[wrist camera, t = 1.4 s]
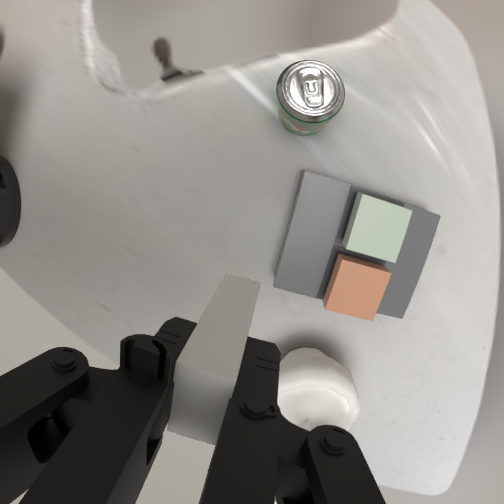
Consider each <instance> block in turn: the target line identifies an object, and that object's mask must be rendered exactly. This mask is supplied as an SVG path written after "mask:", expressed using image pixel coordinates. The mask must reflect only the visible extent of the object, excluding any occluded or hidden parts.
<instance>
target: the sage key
mask: <svg viewBox="0 0 504 504" xmlns="http://www.w3.org/2000/svg"><path fill="white" fill-rule="evenodd" d="M411 214H412V211H411V210H409V209H407V208H404V207H401V206H398V205H395V204H392V203H390V202H387V201H384V200H381V199H378V198H375V197H372V196H369V195H365V194H362V193H359V192H357V195H356V199H355V202H354V206H353V209H352V213H351V216H350V219H349V223H348V226H347V229H346V232H345V236H344V239H343V242H342V244H343V245H344V247H345V248H346V249H348V250H351V251H355V252H358V253H362V254H365V255H369V256H372V257H376V258H379V259H383V260H386V261H390V262H393V263H396V260H397V257H398V254H399V251H400V248H401V246H402V243H403V240H404V237H405V234H406V230H407V227H408V224H409V221H410V218H411Z"/></svg>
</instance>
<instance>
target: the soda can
mask: <svg viewBox="0 0 504 504" xmlns="http://www.w3.org/2000/svg"><path fill="white" fill-rule="evenodd" d="M276 90H277V100H278V109H279V117H280V120H281V122H282V124H283V125H284V127H285V128H286V129H287V130H288V131H290V132H292V133H294V134H296V135H301V136H308V135H312V134H315V133H316V132H318V131H319V130H321V129H322V128H323V127H324V126H325V125H326V124H327V123H328V122H329V121H330V120H331V119H332V118H333V117H334V116H335V115H336V114H337V113H338V112H339V111H340V109H341V108H342V105H343V103H344V99H345V88H344V85H343V82H342V80H341V78H340V76H339V75H338V74H337V73H336V71H335V70H333V69H332V68H331V67H330V66H328V65H326V64H324V63H322V62H319V61H314V60H303V61H298V62H295V63H293V64H291V65H290V66H288V67H287V68H286V69H285V70H284V71H283V72H282V74H281V75H280V77H279V79H278V82H277V89H276Z"/></svg>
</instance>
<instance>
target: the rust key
mask: <svg viewBox="0 0 504 504" xmlns="http://www.w3.org/2000/svg"><path fill="white" fill-rule="evenodd" d="M391 274H392V273H391V272H390V271H389V270H388V269H387V268H386V266H382V265H379V264H375V263H371V262H368V261H364V260H361V259H357V258H354V257H350V256H347V255H343V254H338V258H337V261H336V264H335V267H334V270H333V273H332V276H331V279H330V281H329V284H328V287H327V290H326V293H325V296H324V299H323V303H324V307H325V310H329V311H334V312H338V313H342V314H346V315H350V316H355V317H359V318H363V319H368V320H372V321H373V319H374V316H375V314H376V312H377V309H378V307H379V304H380V302H381V299H382V297H383V294H384V292H385V289H386V287H387V284H388V282H389V279H390V276H391Z"/></svg>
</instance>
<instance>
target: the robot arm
mask: <svg viewBox="0 0 504 504" xmlns="http://www.w3.org/2000/svg"><path fill="white" fill-rule="evenodd" d="M19 217H20V193H19V187H18V182H17V179H16V176H15V173H14V171H13V169H12V167H11V165H10V164H9V163H8V161H7V160H6V159H5V158H3V157H2V156H0V247H2V246H4V245H6V244H8V243H9V242H10V241H11V240H12V238H13V237H14V235H15V233H16V230H17V227H18V223H19ZM259 287H260V282H256V281H252V280H249V279H245V278H241V277H238V276H234V275H230V274H227V273H226V274H225V276H224V278H223V279H222V281H221V283H220V285H219V286H218V288H217V290H216V292H215V294H214V295H213V297H212V299H211V301H210V302H209V304H208V306H207V308H206V309H205V311H204V313H203V315H202V317H201V318H200V320H199V322H198V323H195V322H191V321H188V320H185V319H182V318H178V317H174V318H172V319H170V320H168V321H166V322H165V323H164V324H163V325H162V327H161V328H160V329H159V331H158V332H157V333H156V334H155V336H150V335H146V334H135V335H131V336H127V337H126V338H124V339H123V340H121V344H120V367H119V369H118V370H108V369H100V368H95V367H90V366H89V364H88V360H87V358H86V357H85V356H84V354H82V352H80V351H78V350H76V349H73V348H68V347H57V348H54V349H51V350H48V351H46V352H44V353H43V354H41V355H39V356H37V357H35V358H33V359H32V360H29V361H28V362H26V363H24V364H22V365H20V366H19V367H16V368H14V369H13V370H11V371H9V372H7V373H6V374H3V375H1V376H0V504H10V503H11V502H12V501H13V500H15V499H16V498H17V497H19V496H20V495H21V494H23V493H24V492H25V491H26V490H28V491H27V492H26V494H25V495H24V497H23V498H22V499H21V501H20V502H19V504H135V503H136V500H137V498H138V496H139V493H140V491H141V489H142V487H143V484H144V482H145V480H146V478H147V475H148V473H149V471H150V469H151V466H152V464H153V462H154V460H155V458H156V455H157V453H158V451H159V449H160V446H161V444H162V437H163V432H164V430H165V427H166V425H167V423H168V426H167V431H170V432H173V433H176V434H179V435H183V436H186V437H189V438H192V439H195V440H199V441H202V442H206V443H210V444H213V445H216V446H215V450H214V453H213V457H212V459H211V463H210V466H209V469H208V474H207V477H206V481H205V484H204V488H203V491H202V494H201V498H200V501H199V504H274V503H275V498H276V502H277V504H386V503H385V501H384V499H383V496H382V495H381V492H380V490H379V488H378V486H377V483H376V481H375V479H374V477H373V475H372V473H371V471H370V468H369V466H368V464H367V462H366V460H365V458H364V456H363V453H362V451H361V449H360V447H359V445H358V443H357V441H356V440H355V438H354V437H353V436H352V434H350V433H349V432H348V431H346V430H345V429H343V428H340V427H338V426H335V425H327V424H325V425H320V426H317V427H315V428H314V429H312V430H311V431H308V430H306V429H303V428H301V427H299V426H297V425H295V424H293V423H291V422H290V421H288V420H287V419H286V418H285V417H284V416H283V415H282V414H281V411H280V407H279V406H278V403H277V399H278V385H279V371H280V355H281V353H280V351H279V349H278V348H277V346H276V344H275V343H271V342H267V341H263V340H259V339H255V338H252V337H248V332H249V328H250V324H251V320H252V316H253V312H254V308H255V304H256V300H257V295H258V291H259Z"/></svg>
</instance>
